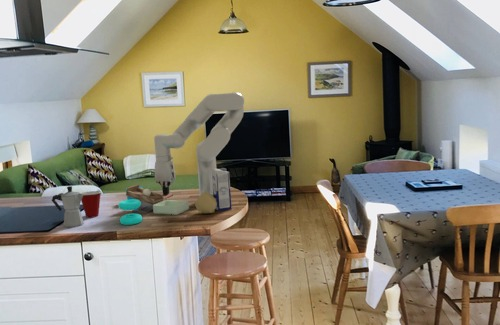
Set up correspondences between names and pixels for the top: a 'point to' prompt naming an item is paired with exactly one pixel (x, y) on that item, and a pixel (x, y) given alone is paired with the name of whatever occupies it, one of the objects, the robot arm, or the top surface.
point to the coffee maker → (70, 207)
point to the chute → (138, 194)
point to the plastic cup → (91, 203)
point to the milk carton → (221, 188)
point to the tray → (171, 207)
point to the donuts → (130, 218)
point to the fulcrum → (143, 208)
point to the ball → (146, 192)
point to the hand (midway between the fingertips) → (166, 194)
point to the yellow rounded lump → (206, 203)
